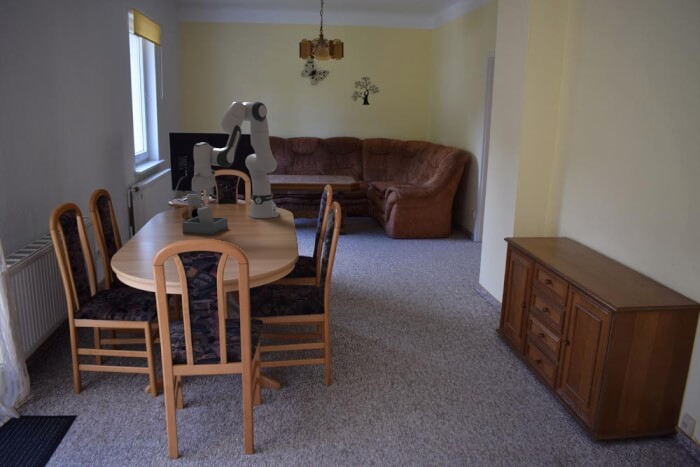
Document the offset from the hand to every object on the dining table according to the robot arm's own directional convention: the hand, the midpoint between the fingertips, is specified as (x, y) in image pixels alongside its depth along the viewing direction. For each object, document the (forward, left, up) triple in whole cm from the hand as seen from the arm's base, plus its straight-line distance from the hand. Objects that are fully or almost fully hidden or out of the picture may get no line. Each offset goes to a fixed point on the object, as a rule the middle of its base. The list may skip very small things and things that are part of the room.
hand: (204, 197), depth 308 cm
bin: (0, 0, -19) cm, 19 cm away
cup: (-44, -30, -19) cm, 57 cm away
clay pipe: (-22, -19, -19) cm, 35 cm away
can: (0, +2, -17) cm, 17 cm away
